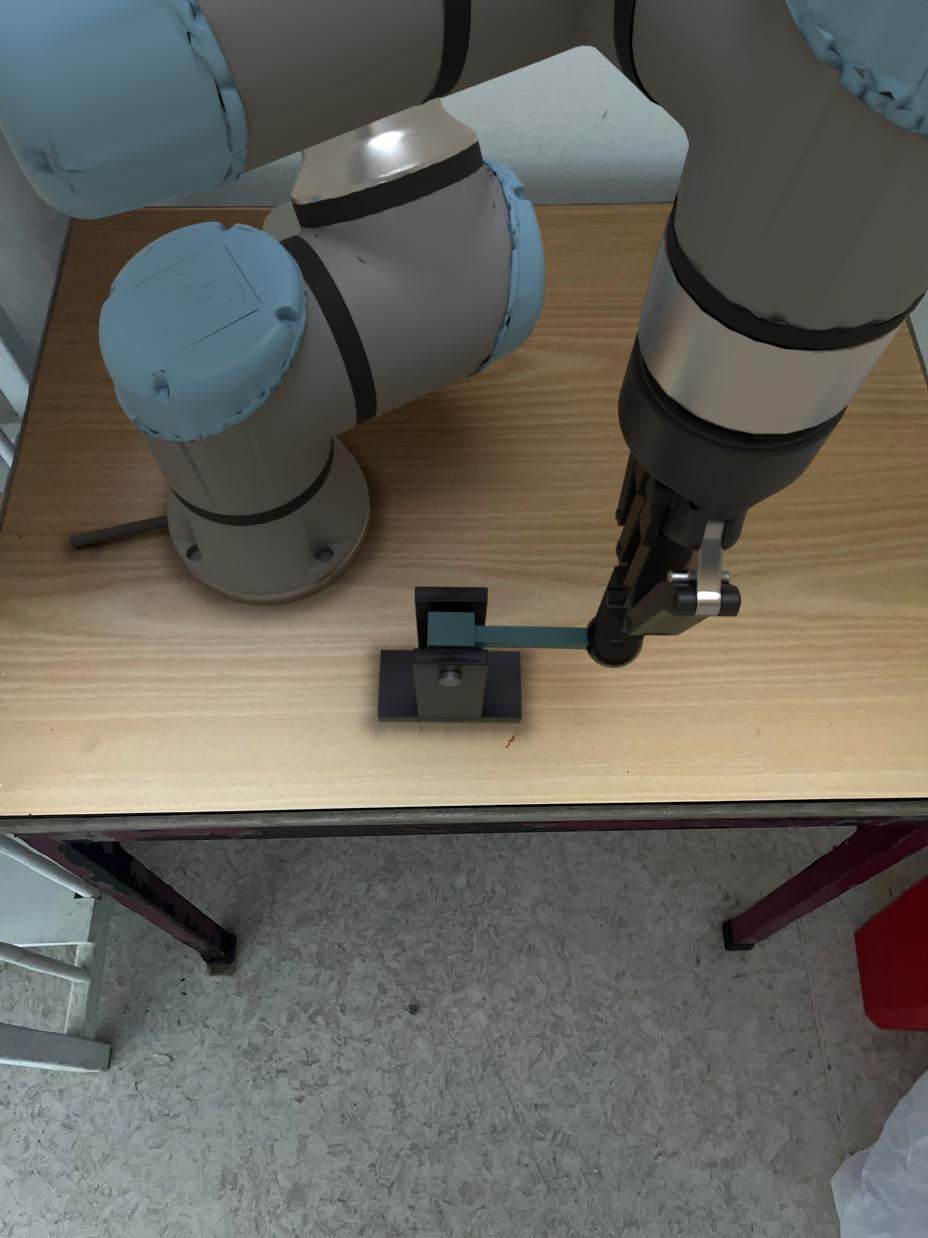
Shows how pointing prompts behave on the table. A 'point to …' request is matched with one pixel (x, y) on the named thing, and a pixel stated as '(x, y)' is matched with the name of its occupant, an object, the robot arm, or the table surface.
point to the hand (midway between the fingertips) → (618, 627)
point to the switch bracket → (449, 670)
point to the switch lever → (527, 638)
